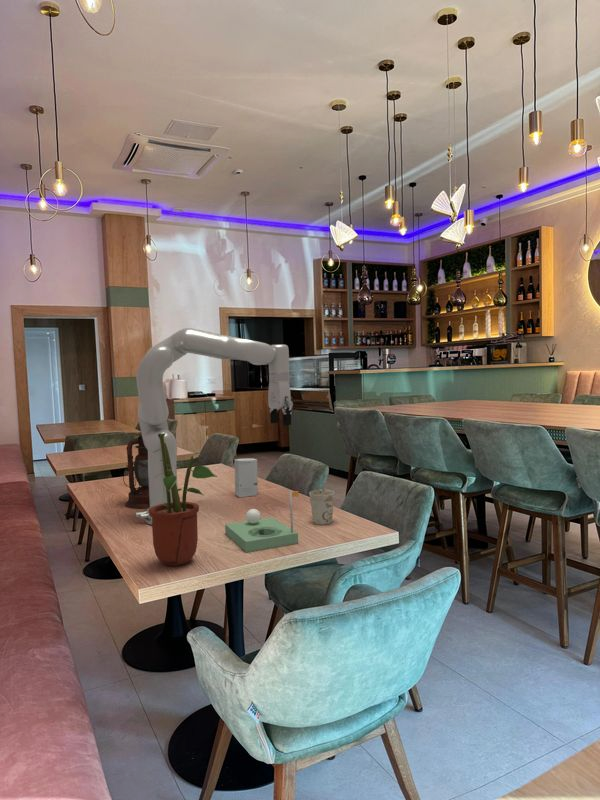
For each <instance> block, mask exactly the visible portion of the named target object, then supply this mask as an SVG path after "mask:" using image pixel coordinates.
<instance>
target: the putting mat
mask: <svg viewBox="0 0 600 800" xmlns="http://www.w3.org/2000/svg"><path fill="white" fill-rule="evenodd" d="M299 495H300V494H299V491H298V490H297V491H296V490H295V491H289V506H290V510H289V511H290V527H289V526H287V525H286V524H285V523H283V522H281V521H279V520H278V519H276V518H275V517H273V516H271V517H270V516H269V517H264V518H260V520H259V522H257V523H256V524H251V523H249V522H248V521H247V520H244V521H236V522H232V523H230V522H229V523H225V524H224V531H225V535H226V536H228V538H230V539H231V540H232V541H233V543H235V544H236V545H238V546H239V548H241V549H242V550H243V551H244V552H245V553H251V552H256V551H261V550H267V549H268V550H269V549H274V548H279V547H284V546H290V545H295V544H299V532H298V531H295V530H294V522H293V521H294V518H293V498H297V497H299Z"/></svg>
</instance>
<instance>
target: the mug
mask: <svg viewBox="0 0 600 800" xmlns="http://www.w3.org/2000/svg"><path fill="white" fill-rule="evenodd" d="M308 494H309V501H310V508H311V514H312V520H313V523H314V524H315V525H320V526H321V525H324V526H325V525H329V524H331V523H333V513H334V505H335V495H336V494H335V491H334V490H331V489H314V490H310V491H309V493H308Z"/></svg>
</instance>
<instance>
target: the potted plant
mask: <svg viewBox="0 0 600 800" xmlns="http://www.w3.org/2000/svg"><path fill="white" fill-rule="evenodd" d="M165 434H166V433H164V434H158V437H159V439H160V443H161V450H162V458H163V460H161V461H163V467H164V475H165V477H164V479H163V483H164V485H165V487H166V494H167V503H164V504H159V505H156V506H153V507H151V508H150V509H149V515H150V516H151V517H152V525H151V527H152V528H151V530H152V545H153V549H154V554H155V556H156V557H157V559H158V560H159V562H160V563H162V564H164V565H166V566H168V567H179V566H182V565H183V566H184V565H185V564H187V563H188V562H190V561H191V560H192V559H193V557H194V556H195V554H196V552H197V549H198V548H197V547H198V538H199V537H198V532H199V531H198V513H199V512H200V505H199V504H198V503H195V502H189V501H187V493H188V492H189V493H193V494H198V495H202V496H204V493H202V491H201V490H200V489H198V488H195V487H189V481H190V477H191V478H194V479H203V480H204V479H207V478H217V477H218V475H216V474H215V473H214V472H213V471H212V470H211V469H210V467H208V466H205V465H201V464H198V465H195V466H194V468H193V465H194V464H195V459H194V456H195V455H198V454H200V452H196V453H194V454H192V456H191V457H190V459H186V461H187V462H188V464H187V468H186V472H185V477H184V483H183V488H178V489H177V486H178V484H177V485H176V478H177V479H178V476H177V477H176V476H174V474H173V471H172V467H171V462H170V457H169V452H168V449H167V446H166V443H164V435H165ZM159 450H160V449H159ZM157 451H158V450H157ZM153 452H154V451H153ZM155 452H156V451H155ZM192 468H193V469H192ZM191 472H192V475H191ZM159 475H160V474H159ZM190 475H191V476H190ZM157 476H158V475H157ZM170 490H171V493H172V501H173V502H171V495H170ZM180 491H182V500H181V498H180V494H179V492H180Z"/></svg>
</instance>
